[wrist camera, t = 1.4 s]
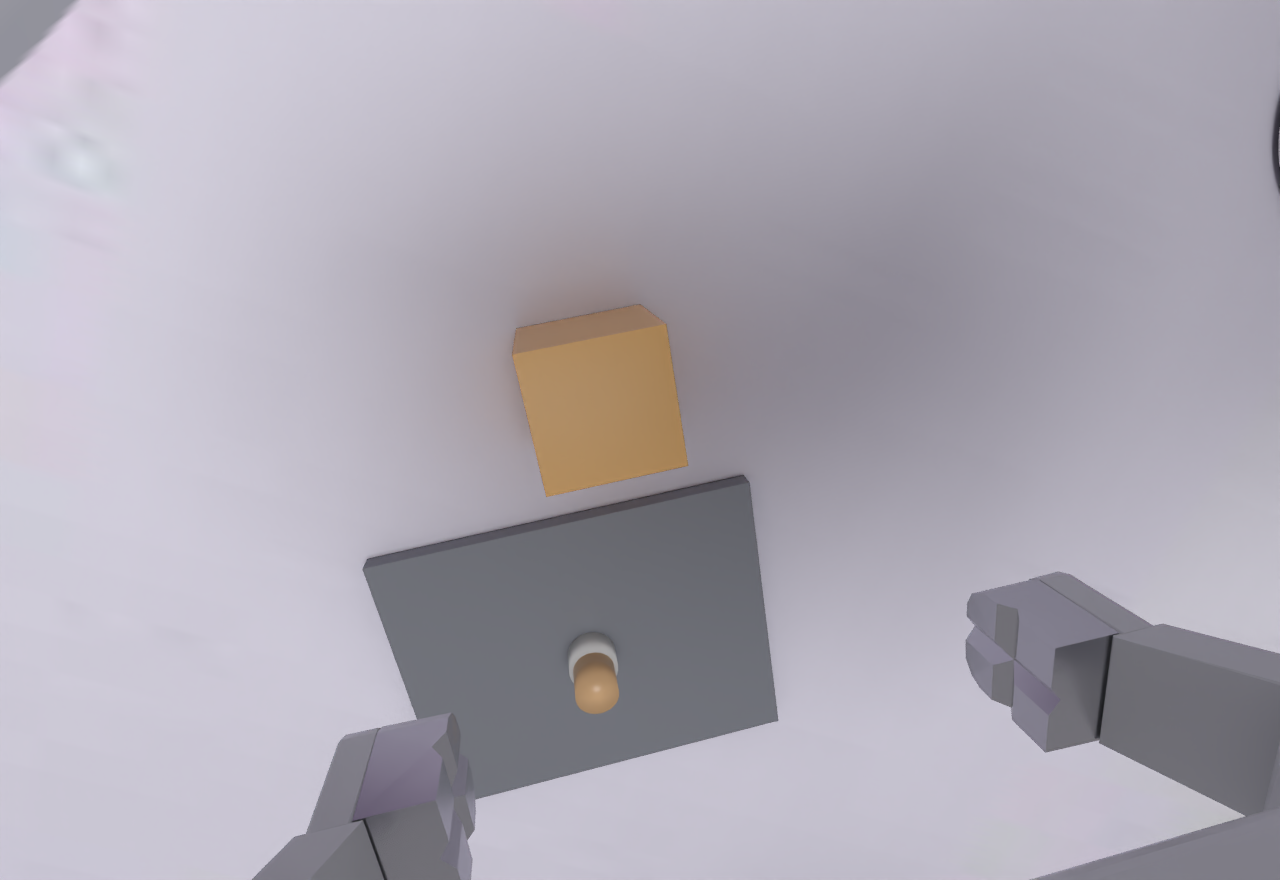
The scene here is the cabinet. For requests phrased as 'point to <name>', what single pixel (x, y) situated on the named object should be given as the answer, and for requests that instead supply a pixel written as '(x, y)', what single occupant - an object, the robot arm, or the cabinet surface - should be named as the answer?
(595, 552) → the plate
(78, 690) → the cabinet surface
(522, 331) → the wooden cube
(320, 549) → the cabinet surface
